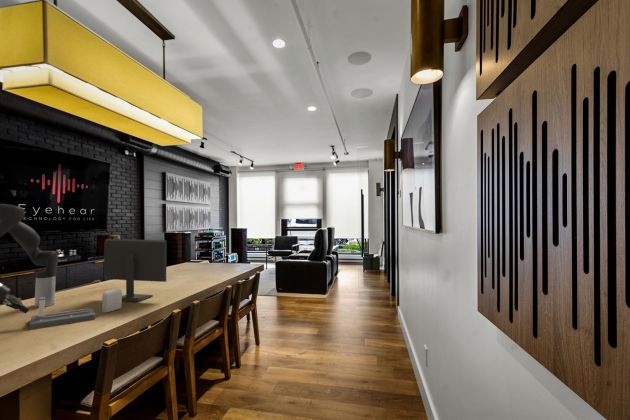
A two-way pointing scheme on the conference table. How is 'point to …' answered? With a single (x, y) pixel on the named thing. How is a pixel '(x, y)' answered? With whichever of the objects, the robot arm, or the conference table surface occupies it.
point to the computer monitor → (135, 263)
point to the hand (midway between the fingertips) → (27, 311)
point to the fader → (41, 307)
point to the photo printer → (111, 300)
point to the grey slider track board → (61, 318)
